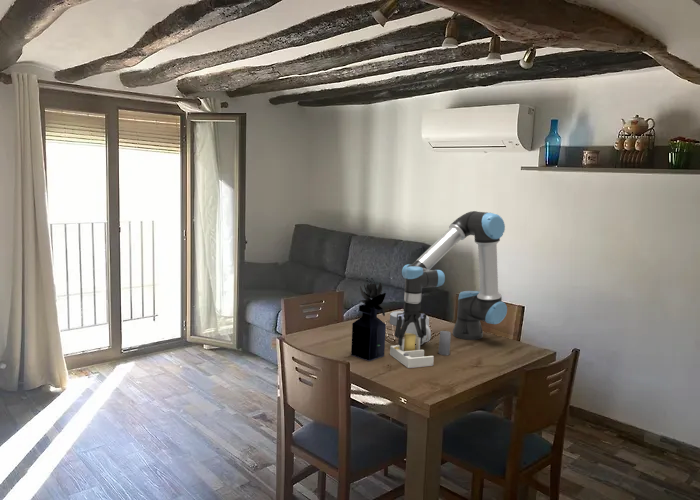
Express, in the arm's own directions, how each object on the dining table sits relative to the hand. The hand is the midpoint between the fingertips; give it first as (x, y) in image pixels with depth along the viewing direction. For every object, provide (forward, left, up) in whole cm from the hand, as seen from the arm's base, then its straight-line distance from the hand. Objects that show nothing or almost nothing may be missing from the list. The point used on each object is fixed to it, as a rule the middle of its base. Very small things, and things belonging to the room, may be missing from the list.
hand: (409, 351), depth 244 cm
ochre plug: (0, 0, -2) cm, 2 cm away
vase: (+17, -6, -2) cm, 19 cm away
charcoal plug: (-18, 0, -2) cm, 18 cm away
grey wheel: (-23, -51, -3) cm, 55 cm away
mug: (-13, -16, -2) cm, 20 cm away
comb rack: (+2, +4, -2) cm, 6 cm away
